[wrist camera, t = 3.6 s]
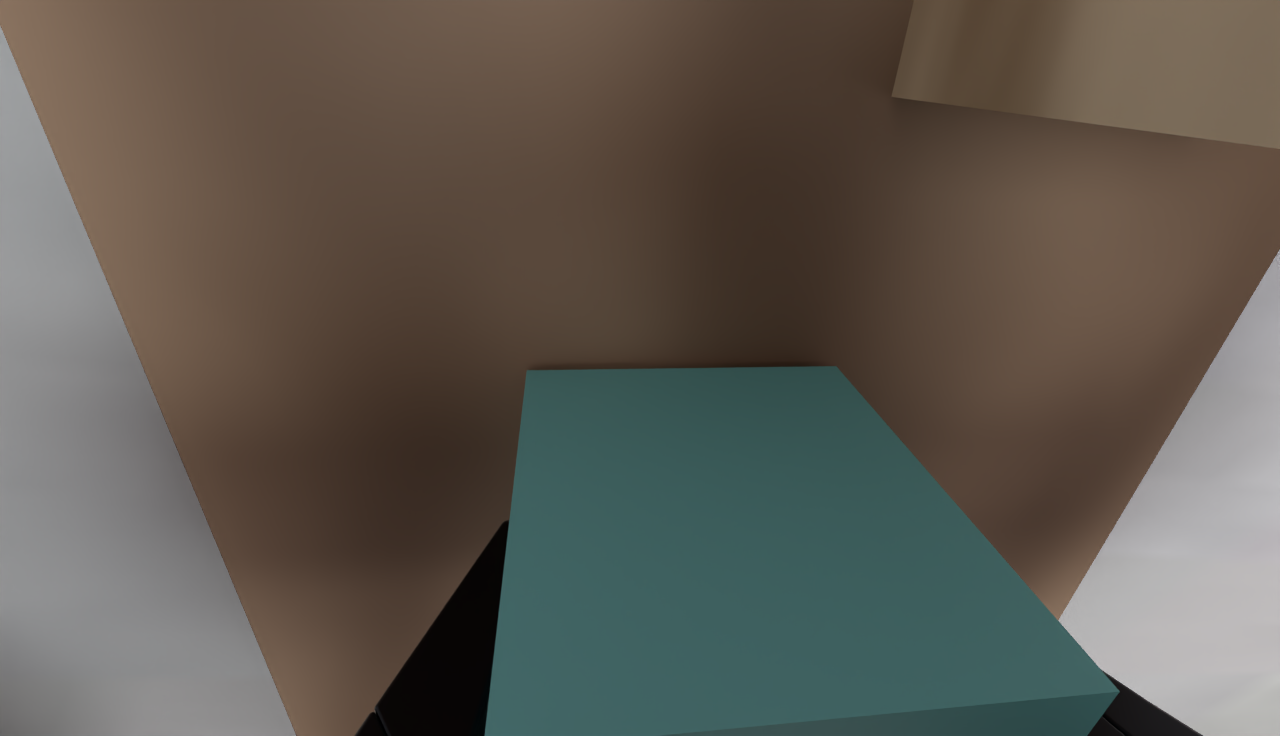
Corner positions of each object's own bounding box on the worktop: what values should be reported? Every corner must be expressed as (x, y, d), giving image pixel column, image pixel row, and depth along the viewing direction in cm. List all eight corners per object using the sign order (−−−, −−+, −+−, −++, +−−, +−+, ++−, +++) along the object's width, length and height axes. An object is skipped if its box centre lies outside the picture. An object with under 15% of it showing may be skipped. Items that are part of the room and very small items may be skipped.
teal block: (538, 594, 11) (520, 1002, 6) (526, 369, 9) (482, 751, 4) (784, 579, 12) (936, 940, 7) (835, 366, 9) (1119, 692, 5)
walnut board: (359, 803, 16) (345, 854, 15) (-218, -800, 5) (-450, -1055, 4) (937, 744, 19) (959, 785, 18) (1562, -437, 7) (1739, -523, 6)
